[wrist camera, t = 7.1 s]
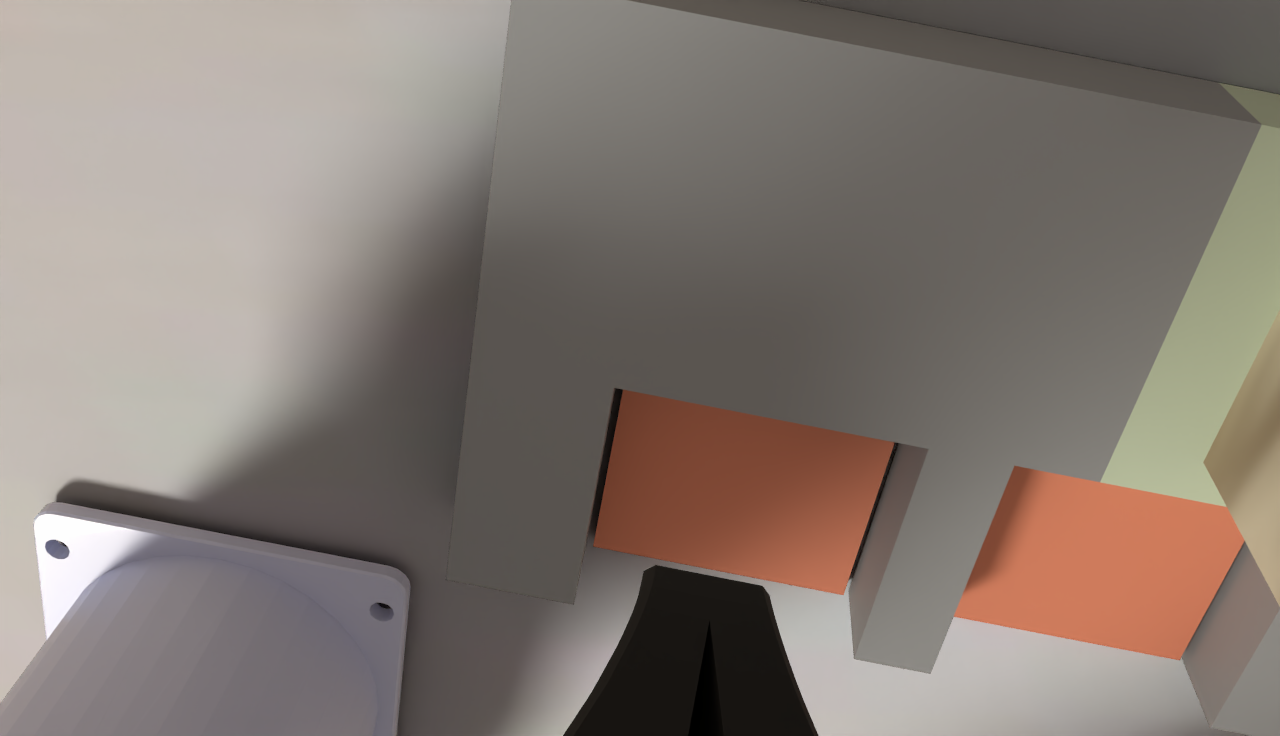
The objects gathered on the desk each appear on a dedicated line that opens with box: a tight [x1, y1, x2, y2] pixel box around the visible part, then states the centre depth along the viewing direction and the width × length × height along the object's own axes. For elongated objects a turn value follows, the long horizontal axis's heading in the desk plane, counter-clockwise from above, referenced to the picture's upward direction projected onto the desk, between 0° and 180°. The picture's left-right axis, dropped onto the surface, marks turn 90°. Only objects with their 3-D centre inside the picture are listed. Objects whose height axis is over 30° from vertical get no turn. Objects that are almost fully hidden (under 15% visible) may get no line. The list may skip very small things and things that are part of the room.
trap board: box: [446, 0, 1280, 736], centre depth 21 cm, size 12×18×4 cm, turn 80°
